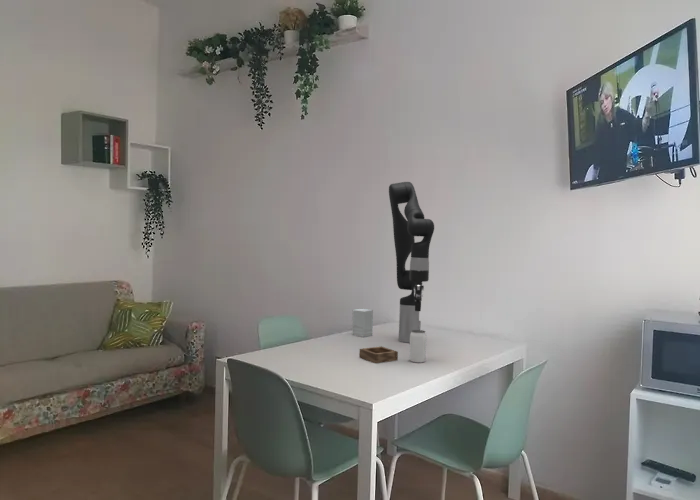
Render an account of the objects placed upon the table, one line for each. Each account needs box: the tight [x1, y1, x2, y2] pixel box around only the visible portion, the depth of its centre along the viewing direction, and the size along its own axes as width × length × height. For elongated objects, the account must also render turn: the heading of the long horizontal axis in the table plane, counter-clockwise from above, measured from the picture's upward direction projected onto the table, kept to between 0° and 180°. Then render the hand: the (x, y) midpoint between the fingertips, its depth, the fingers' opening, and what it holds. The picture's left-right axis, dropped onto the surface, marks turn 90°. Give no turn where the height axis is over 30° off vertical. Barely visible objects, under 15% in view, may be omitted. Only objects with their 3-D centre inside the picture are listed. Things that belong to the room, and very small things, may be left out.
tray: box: [358, 345, 399, 364], centre depth 225 cm, size 11×11×4 cm
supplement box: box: [351, 308, 374, 338], centre depth 273 cm, size 7×7×13 cm
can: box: [408, 329, 427, 364], centre depth 223 cm, size 6×6×12 cm
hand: (417, 309), depth 222 cm, fingers open, 8 cm apart
